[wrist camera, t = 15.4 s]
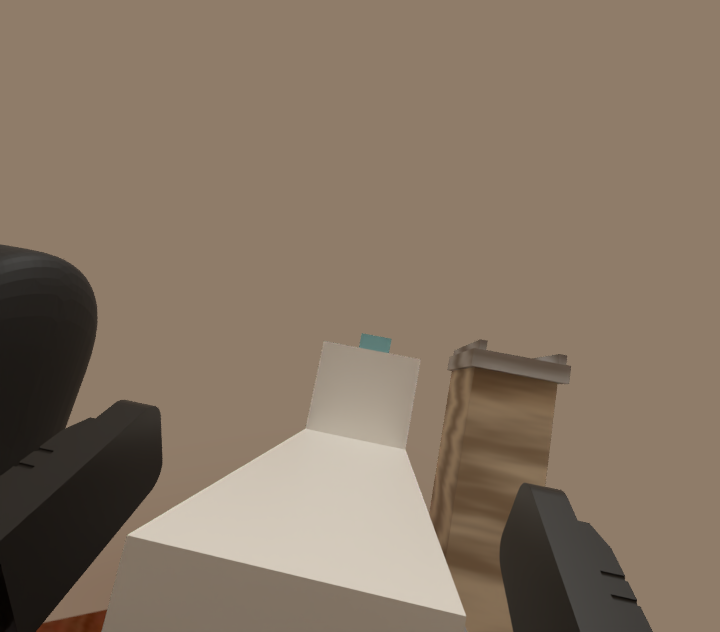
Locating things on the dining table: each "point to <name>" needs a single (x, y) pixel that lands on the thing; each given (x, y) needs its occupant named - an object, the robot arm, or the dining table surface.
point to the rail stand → (490, 466)
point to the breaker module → (303, 526)
